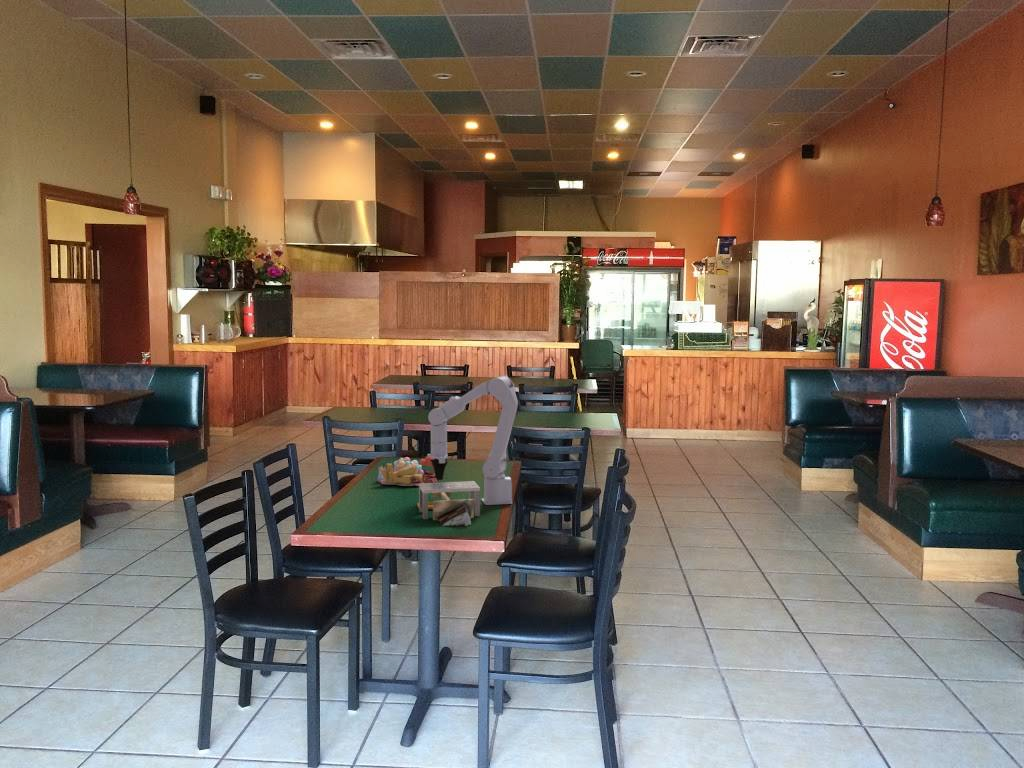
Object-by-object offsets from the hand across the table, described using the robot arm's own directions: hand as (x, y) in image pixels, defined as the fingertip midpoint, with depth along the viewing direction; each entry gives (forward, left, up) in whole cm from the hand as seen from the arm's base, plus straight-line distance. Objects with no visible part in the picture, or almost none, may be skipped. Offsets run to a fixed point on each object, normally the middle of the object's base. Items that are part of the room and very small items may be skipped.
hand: (439, 479), depth 289 cm
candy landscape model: (+7, -31, -7) cm, 32 cm away
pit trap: (0, +13, -7) cm, 14 cm away
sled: (0, +18, -6) cm, 19 cm away
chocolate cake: (0, +34, -7) cm, 35 cm away
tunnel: (0, +22, -7) cm, 23 cm away
